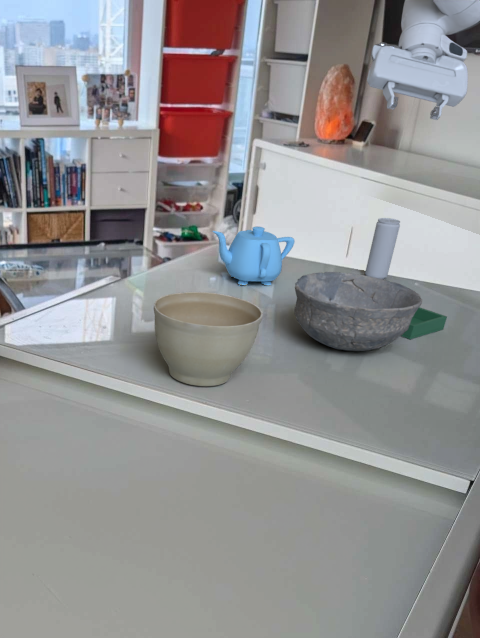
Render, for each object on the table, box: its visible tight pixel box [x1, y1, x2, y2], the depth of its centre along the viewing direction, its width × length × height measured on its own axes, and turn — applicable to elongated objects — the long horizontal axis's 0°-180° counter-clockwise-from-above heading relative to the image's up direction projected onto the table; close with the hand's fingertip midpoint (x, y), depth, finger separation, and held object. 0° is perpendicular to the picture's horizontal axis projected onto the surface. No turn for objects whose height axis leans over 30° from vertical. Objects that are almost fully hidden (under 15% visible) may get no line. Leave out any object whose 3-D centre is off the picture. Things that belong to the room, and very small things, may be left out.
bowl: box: [294, 271, 423, 352], centre depth 129 cm, size 21×21×10 cm
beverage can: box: [364, 217, 401, 280], centre depth 165 cm, size 5×5×12 cm
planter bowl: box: [153, 291, 264, 387], centre depth 116 cm, size 16×16×11 cm
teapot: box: [211, 226, 296, 286], centre depth 159 cm, size 13×14×11 cm
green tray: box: [400, 306, 448, 340], centre depth 141 cm, size 10×10×2 cm
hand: (413, 112), depth 155 cm, fingers open, 8 cm apart
